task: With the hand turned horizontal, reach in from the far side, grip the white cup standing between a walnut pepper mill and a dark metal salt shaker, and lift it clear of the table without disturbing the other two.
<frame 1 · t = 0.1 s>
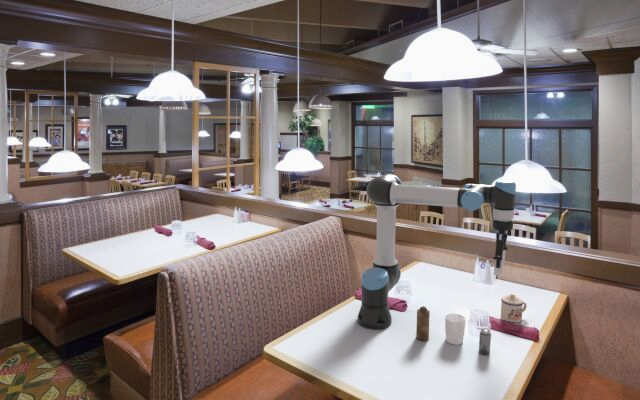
hand: (499, 269, 171), 28 cm above the table, tool pointing down, fingers open, 13 cm apart
salt shaker: (484, 352, 161), on the table
pepper mill: (422, 338, 172), on the table
teacup with lid: (513, 318, 189), on the table
white cup: (454, 341, 170), on the table
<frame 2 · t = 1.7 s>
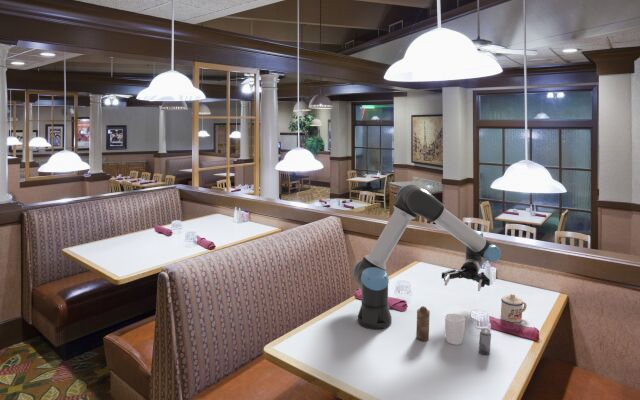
hand: (461, 285, 177), 20 cm above the table, tool horizontal, fingers open, 13 cm apart
nothing on the table moved.
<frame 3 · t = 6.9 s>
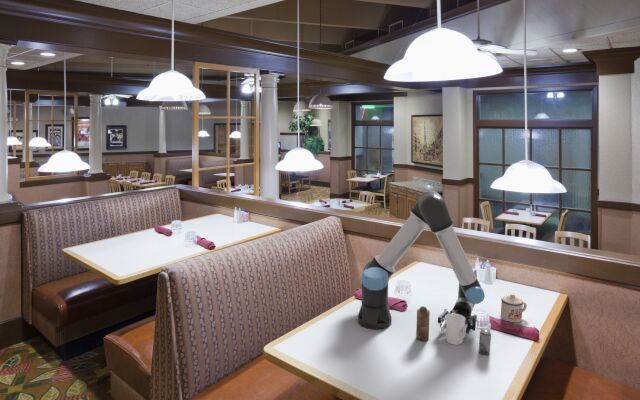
hand: (452, 332, 165), 6 cm above the table, tool horizontal, fingers closed on white cup, 8 cm apart
white cup: (454, 340, 170), on the table, touching gripper
everything else where it was.
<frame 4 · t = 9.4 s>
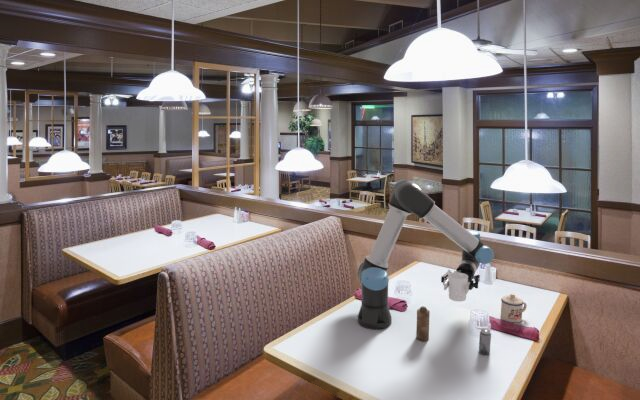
hand: (455, 288, 169), 21 cm above the table, tool horizontal, fingers closed on white cup, 8 cm apart
white cup: (457, 298, 174), point 15 cm above the table, touching gripper
everything else where it was.
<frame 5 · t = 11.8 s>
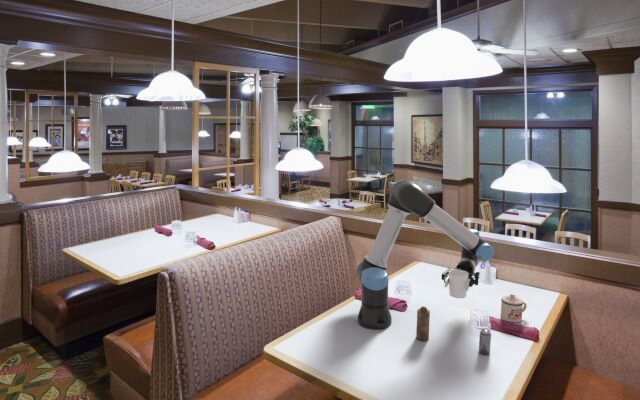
hand: (456, 285, 170), 22 cm above the table, tool horizontal, fingers closed on white cup, 8 cm apart
white cup: (457, 295, 176), point 16 cm above the table, touching gripper
everything else where it was.
at the end: the gripper is holding white cup; white cup point 15.7 cm above the table; pepper mill moved 0.0 cm from its start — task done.
